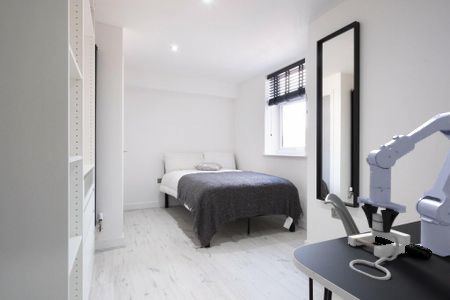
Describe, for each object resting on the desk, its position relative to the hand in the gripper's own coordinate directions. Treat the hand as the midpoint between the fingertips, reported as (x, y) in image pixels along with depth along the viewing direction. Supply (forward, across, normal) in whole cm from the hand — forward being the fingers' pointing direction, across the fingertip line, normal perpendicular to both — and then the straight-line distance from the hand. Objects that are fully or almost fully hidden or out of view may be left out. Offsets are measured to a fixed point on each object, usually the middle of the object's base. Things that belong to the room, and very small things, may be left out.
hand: (379, 230), depth 77 cm
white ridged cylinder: (+2, 0, 0) cm, 2 cm away
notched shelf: (+6, 0, 0) cm, 6 cm away
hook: (+6, +8, -10) cm, 14 cm away
